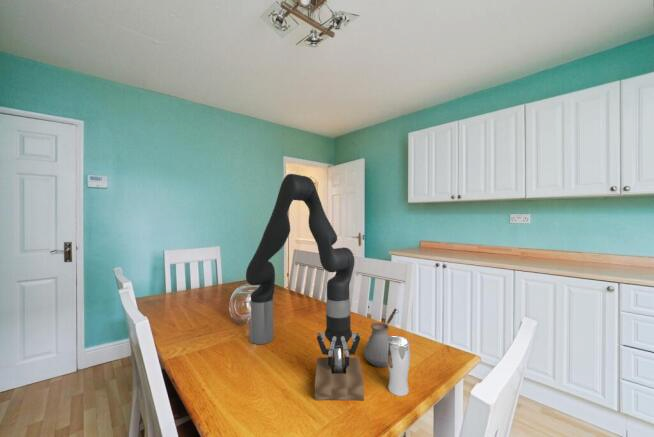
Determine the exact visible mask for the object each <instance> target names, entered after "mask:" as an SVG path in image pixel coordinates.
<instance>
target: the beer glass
mask: <svg viewBox="0 0 654 437" xmlns="http://www.w3.org/2000/svg"><path fill="white" fill-rule="evenodd" d="M386 356H387V364H388V366H387V368H388V375H389V378H388V385H387V389H388V391H389V392H390V393H391V394H392V395H394V396H398V397H403V396H407V395H408V393H410V391H409V390H410V388H409V383H408V375H409V369H410V364H411V349H410V340H409V339H408V338H406V337H404V336H399V335H392V336H391V335H390V336H389V338H388V339H387V349H386Z"/></svg>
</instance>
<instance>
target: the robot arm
mask: <svg viewBox="0 0 654 437" xmlns="http://www.w3.org/2000/svg"><path fill="white" fill-rule="evenodd" d="M293 201H299V202H301V201H302V202H304V204H305V205H306V207H307V209H308V212H309V214H308V226H309V227H308V228H309V231H310V233H311V235H312V237H313V239H314V241H315V243H316V246H317V250H318V254H319V261H320V264H321V266H322V268H323V269H324V270H325V271H326V272H328V273H335V275H334V276H333V277H331V278H329V279H328V281H327V282H326V304H325V311H326V312H325V314H326V315H325V316H326V319H325V320H326V322H325V323H326V327H325V331H324V332H322V333H320V332H318V333H317V335H316V339H317V342H318V345H319V346H318V347H319V348H320V351H321V353H322V355H324V356H325V355H326V356H327V358H328V366H330V368H333V359H332V358H333V349H334V346H338V345H339V346H343V358H345V368H347V366H349V358H350V356H355V354H356V352H357V349H358V347H359V344H360V340H361V336H360V333H358V332H357V333H354V332H353V330H351V301H350V283H351V280H352V276H353V272H354V268H355V256H354V253H353V251H352V250H351V249H350V248H348V247H338V248H336V247H335V248H334V247H333V245H335V244H336V242H337V241H338V235H337V233H336V231H335V229H334V227H333V225H332V224H331V222H330V221H329V218H328V217H327V215H326V212H325V210H324V208H323V205H322V202H321V201H322V200H321V199H320V195H319V192H318V191H317V188H316V186H315V182H314V180H312V178H311V177H309V176H306V175H302V174H296V173H288V174H286V176H285V177H284V178H283V180H282V182H281V185H280V187H279V190H278V193H277V198H276V201H275V204H274V206H273V207H274V208H273V210H272V213H271V215H270V218H269V220H268V222H267V225H266V227H265V229H264V232H263V234H262V237H261V240H260V242H259V244H258V246H257V248H256V250H255V253H254V255H253V257H252V258H251V260H250V261H249V264H248V266H247V268H246V271H245V273H246V274H245V279H246V282H247V283H248V284H249V285H251V286H258V287H257V289H255V290H254V291H252V292H251V293H250V319H249V343H253V344H255V345H266V344H268V343H270V342H272V341H274V294H275V286H276V285H275V284H276V283H275V282H276V271H275V267H274V265H273V263H272V262H271V261H269V260H271V259H272V258H273V257H274V256H275V255H276V254H278V252H280V251H281V249H283V247H284V246H285V244H286V242H287V239H288V238H289V235H290V234H291V223H290V218H289V210H290V206H291V205H292V202H293ZM325 338H326V339H327V341H328V342H329V346H328V348H327V347H326V345H325V342H324V341H325ZM351 338H352V345H351V347H350V348H349V346H348V342H349V341H350V339H351Z"/></svg>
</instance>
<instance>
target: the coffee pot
mask: <svg viewBox="0 0 654 437" xmlns="http://www.w3.org/2000/svg"><path fill="white" fill-rule="evenodd" d="M397 311H398V312H397ZM398 313H400V311H399V310H398V309H397V308H394V309H393V311H392V312H391V314H390V316H389V317H388V320H387V322H386V323H384V322H374V323H372V324H371V325H370V328H371V330H372V332H371V334H370V336H369V338H368V341H367V343H366V346H365V348H364V350H363V355H364V357H365V359H366V360H367V361H368V362H369V363H370V364H371V365H372V366H375V367H378V368H385V367H386V368H387V367H388V364H387V356H386V349H387V339H388V338H389V337H390V336H389V334H388V331H389V329H390V326H389V325H390V323H391V321H392V320H393V318H394V316H395V315H396V314H398Z"/></svg>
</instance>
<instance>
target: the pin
mask: <svg viewBox="0 0 654 437" xmlns="http://www.w3.org/2000/svg"><path fill="white" fill-rule="evenodd" d="M332 358H333V374H344V368H343V358H344V348H343V346H339V345H338V346H334V349H333V353H332Z"/></svg>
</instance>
